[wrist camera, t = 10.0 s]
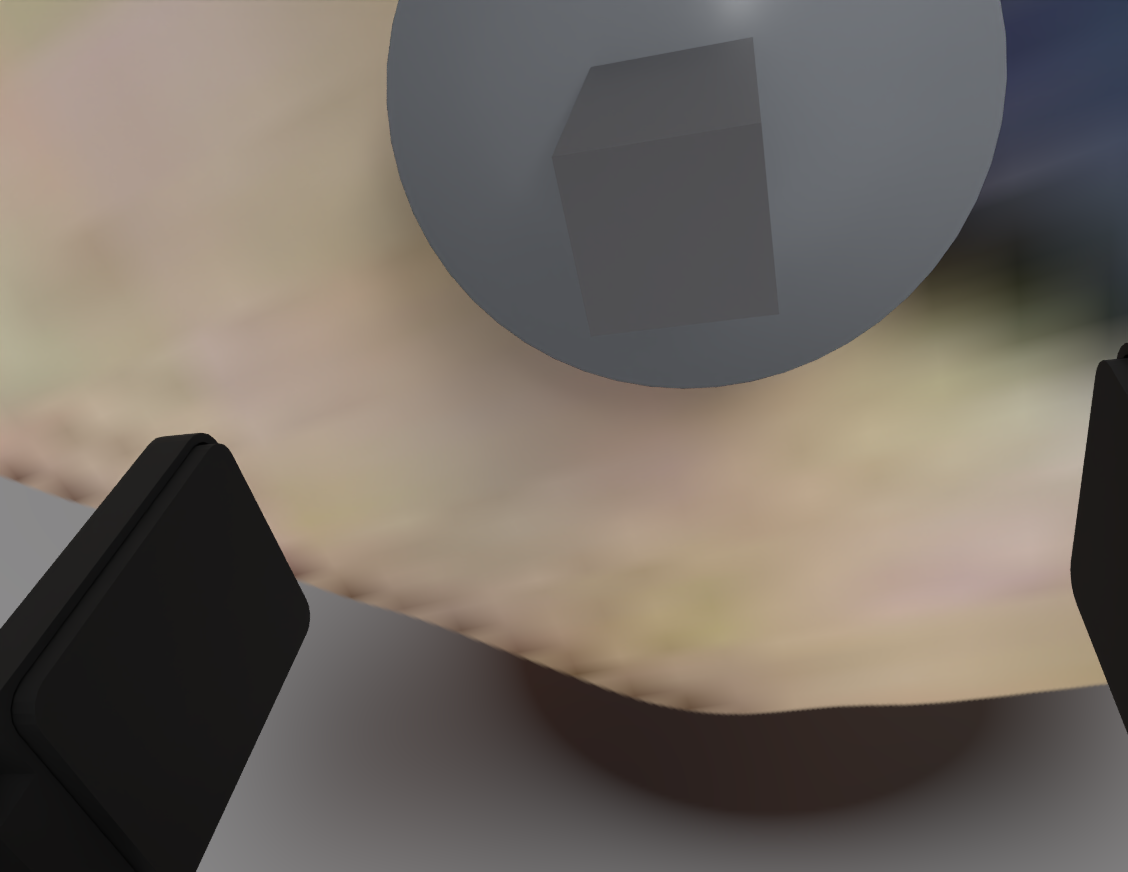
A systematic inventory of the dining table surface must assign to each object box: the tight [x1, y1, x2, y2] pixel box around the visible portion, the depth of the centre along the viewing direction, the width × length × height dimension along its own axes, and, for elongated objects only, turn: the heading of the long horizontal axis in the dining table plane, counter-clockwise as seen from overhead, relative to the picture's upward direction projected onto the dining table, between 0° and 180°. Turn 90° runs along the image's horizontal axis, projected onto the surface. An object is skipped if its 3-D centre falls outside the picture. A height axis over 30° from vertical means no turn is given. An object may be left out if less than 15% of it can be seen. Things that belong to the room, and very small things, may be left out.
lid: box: [387, 0, 1007, 389], centre depth 20 cm, size 14×14×7 cm
